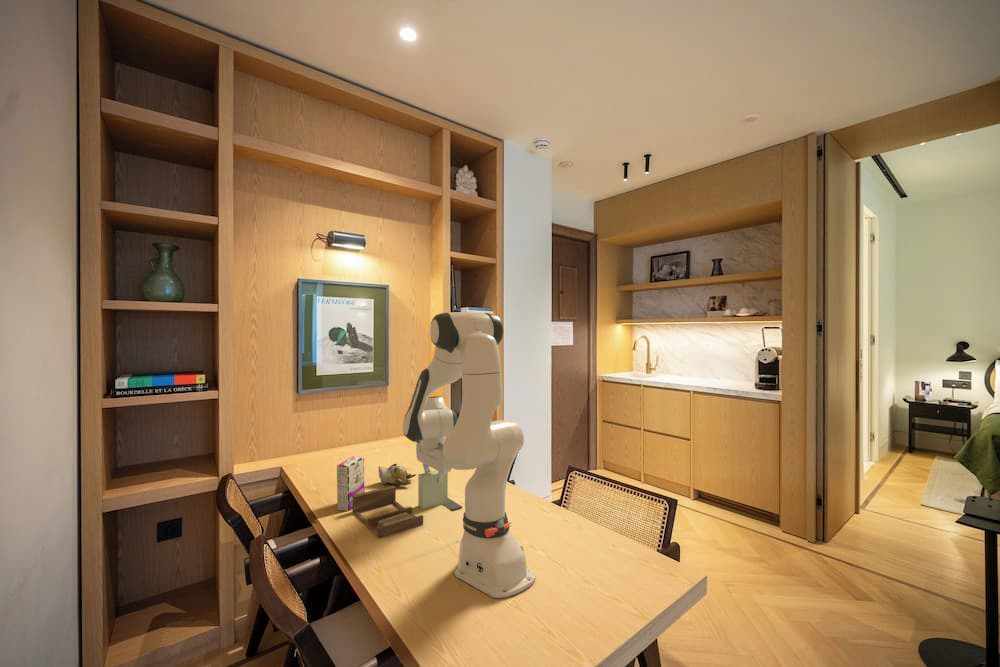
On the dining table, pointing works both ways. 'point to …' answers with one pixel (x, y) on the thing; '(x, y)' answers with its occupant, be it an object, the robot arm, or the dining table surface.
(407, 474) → the ceramic sculpture
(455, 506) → the rubber mat
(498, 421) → the robot arm
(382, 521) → the upper offcut
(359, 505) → the frame
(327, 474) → the dining table surface
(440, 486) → the beige rectangular block
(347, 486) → the candy bar box
